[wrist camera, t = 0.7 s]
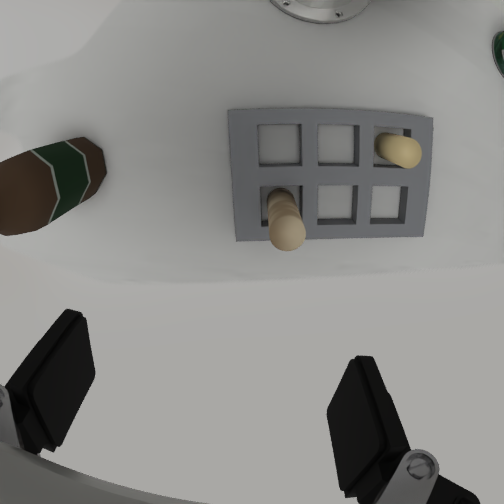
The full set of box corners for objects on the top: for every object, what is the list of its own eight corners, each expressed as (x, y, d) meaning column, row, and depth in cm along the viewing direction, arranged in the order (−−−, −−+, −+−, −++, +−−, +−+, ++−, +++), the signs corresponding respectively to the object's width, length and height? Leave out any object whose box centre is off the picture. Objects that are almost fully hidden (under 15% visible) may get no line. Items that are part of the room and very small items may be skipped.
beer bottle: (87, 122, 32) (-83, 166, 10) (120, 175, 35) (-30, 272, 13) (47, 160, 34) (-104, 230, 12) (77, 209, 36) (-58, 315, 14)
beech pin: (294, 187, 35) (306, 216, 26) (294, 213, 36) (305, 250, 27) (266, 188, 35) (268, 217, 26) (267, 214, 36) (269, 251, 27)
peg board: (425, 116, 31) (451, 120, 25) (416, 230, 36) (438, 250, 31) (229, 110, 31) (223, 109, 26) (237, 234, 37) (233, 257, 32)
